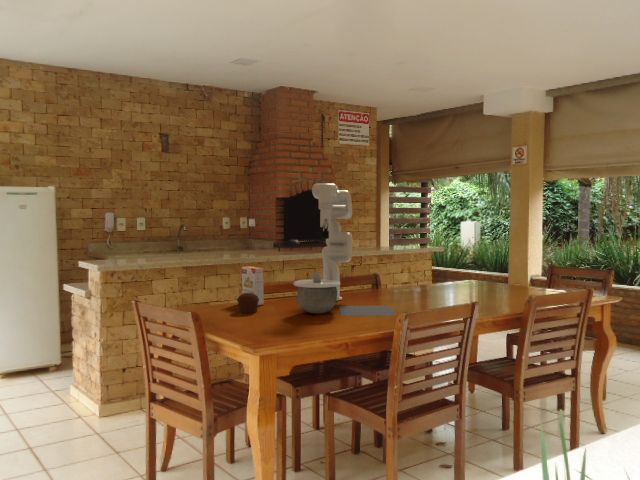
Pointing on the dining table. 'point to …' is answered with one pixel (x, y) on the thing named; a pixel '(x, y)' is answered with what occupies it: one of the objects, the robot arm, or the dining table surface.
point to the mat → (366, 311)
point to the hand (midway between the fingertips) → (325, 237)
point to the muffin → (248, 303)
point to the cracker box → (253, 282)
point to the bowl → (317, 299)
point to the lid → (317, 282)
